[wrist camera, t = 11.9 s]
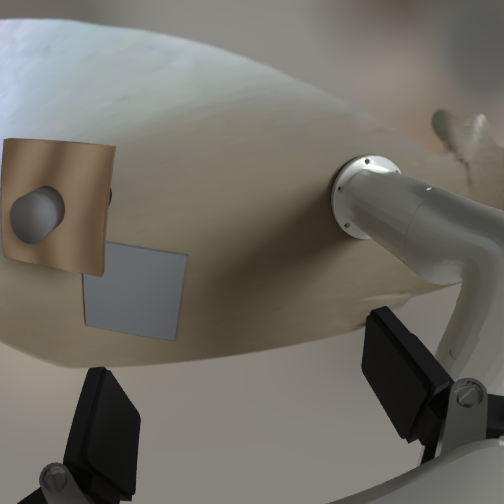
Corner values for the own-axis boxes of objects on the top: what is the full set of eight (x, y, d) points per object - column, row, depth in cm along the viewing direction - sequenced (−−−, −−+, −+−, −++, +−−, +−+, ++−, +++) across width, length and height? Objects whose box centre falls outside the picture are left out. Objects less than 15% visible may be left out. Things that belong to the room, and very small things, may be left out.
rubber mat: (187, 255, 40) (187, 256, 40) (175, 339, 46) (175, 341, 45) (84, 237, 37) (83, 239, 36) (87, 323, 42) (86, 325, 42)
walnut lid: (116, 146, 24) (97, 151, 19) (104, 272, 29) (90, 298, 24) (9, 138, 21) (-19, 143, 16) (9, 252, 26) (-14, 272, 21)
